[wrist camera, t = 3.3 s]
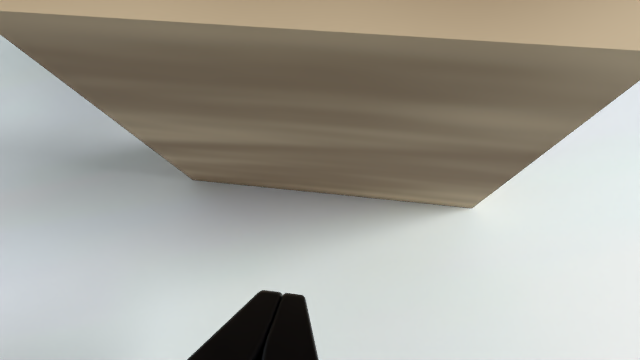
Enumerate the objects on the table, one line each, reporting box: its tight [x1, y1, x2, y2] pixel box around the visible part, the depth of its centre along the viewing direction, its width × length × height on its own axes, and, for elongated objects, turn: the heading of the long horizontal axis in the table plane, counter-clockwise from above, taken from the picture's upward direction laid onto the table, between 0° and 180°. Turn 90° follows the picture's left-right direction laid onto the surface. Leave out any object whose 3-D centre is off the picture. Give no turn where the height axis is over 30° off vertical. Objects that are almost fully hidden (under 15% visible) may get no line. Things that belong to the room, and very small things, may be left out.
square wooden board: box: [0, 0, 640, 208], centre depth 11 cm, size 2×10×10 cm, turn 83°
